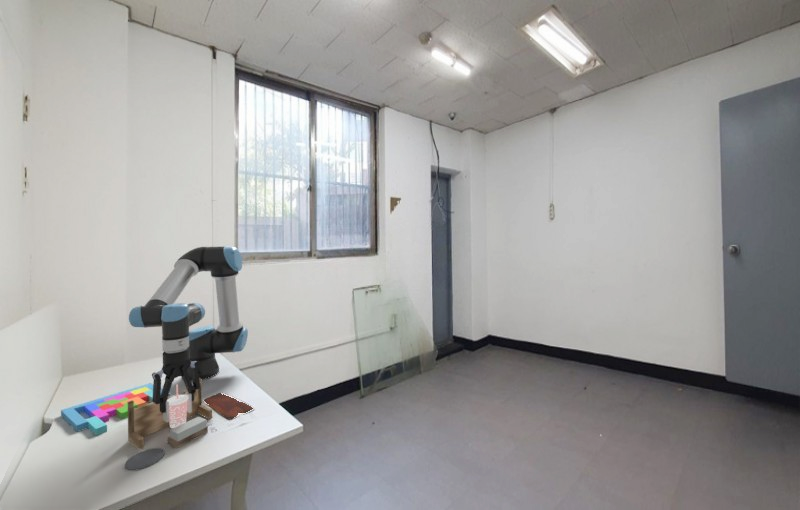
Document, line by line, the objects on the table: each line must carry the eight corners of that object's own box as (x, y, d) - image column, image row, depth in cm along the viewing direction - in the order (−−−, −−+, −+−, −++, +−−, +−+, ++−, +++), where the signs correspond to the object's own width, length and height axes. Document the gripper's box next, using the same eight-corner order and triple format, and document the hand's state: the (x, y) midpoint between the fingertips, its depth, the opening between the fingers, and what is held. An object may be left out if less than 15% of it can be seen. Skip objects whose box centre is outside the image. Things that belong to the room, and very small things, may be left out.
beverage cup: (162, 428, 105) (161, 387, 105) (177, 418, 111) (176, 379, 111) (178, 430, 105) (177, 388, 104) (193, 420, 111) (192, 380, 110)
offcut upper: (198, 423, 109) (198, 416, 109) (206, 426, 107) (206, 419, 107) (169, 437, 101) (169, 429, 101) (178, 441, 99) (177, 433, 99)
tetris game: (61, 417, 118) (84, 441, 103) (60, 410, 118) (84, 433, 103) (150, 389, 142) (180, 405, 127) (150, 382, 142) (180, 398, 127)
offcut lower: (199, 429, 110) (199, 422, 110) (207, 433, 107) (207, 426, 107) (167, 445, 101) (166, 437, 101) (175, 450, 99) (174, 442, 99)
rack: (200, 411, 121) (199, 378, 121) (212, 417, 116) (211, 382, 116) (128, 441, 102) (127, 401, 102) (139, 450, 98) (138, 408, 97)
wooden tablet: (256, 411, 122) (256, 406, 122) (229, 422, 114) (229, 417, 114) (224, 392, 138) (224, 388, 138) (199, 401, 130) (199, 397, 130)
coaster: (156, 446, 99) (156, 444, 99) (169, 456, 95) (169, 454, 95) (119, 463, 92) (119, 461, 92) (132, 474, 87) (132, 472, 87)
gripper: (147, 360, 97) (149, 433, 98) (211, 343, 113) (212, 406, 114) (137, 356, 101) (139, 426, 102) (200, 340, 117) (201, 401, 118)
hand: (177, 415), depth 108 cm, fingers closed on beverage cup, 6 cm apart
